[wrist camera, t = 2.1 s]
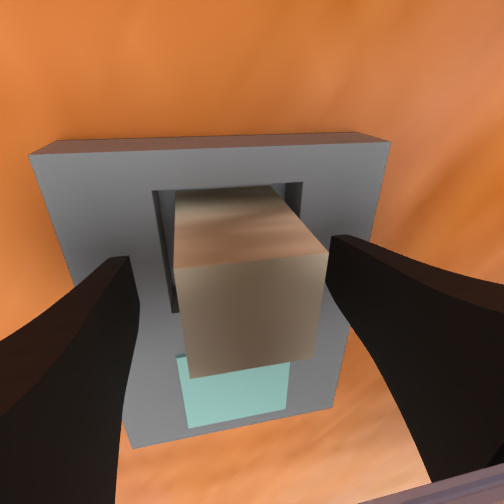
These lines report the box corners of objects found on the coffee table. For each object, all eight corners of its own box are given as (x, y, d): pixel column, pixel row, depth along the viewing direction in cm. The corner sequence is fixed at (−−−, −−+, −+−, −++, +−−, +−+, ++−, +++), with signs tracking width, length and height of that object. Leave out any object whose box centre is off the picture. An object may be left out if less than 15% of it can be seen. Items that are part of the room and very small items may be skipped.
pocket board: (357, 131, 13) (394, 142, 11) (316, 374, 21) (333, 410, 19) (57, 140, 11) (25, 156, 9) (137, 407, 19) (131, 453, 17)
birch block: (270, 185, 13) (328, 252, 8) (267, 263, 15) (312, 358, 10) (175, 190, 12) (173, 269, 7) (185, 272, 14) (189, 379, 9)
